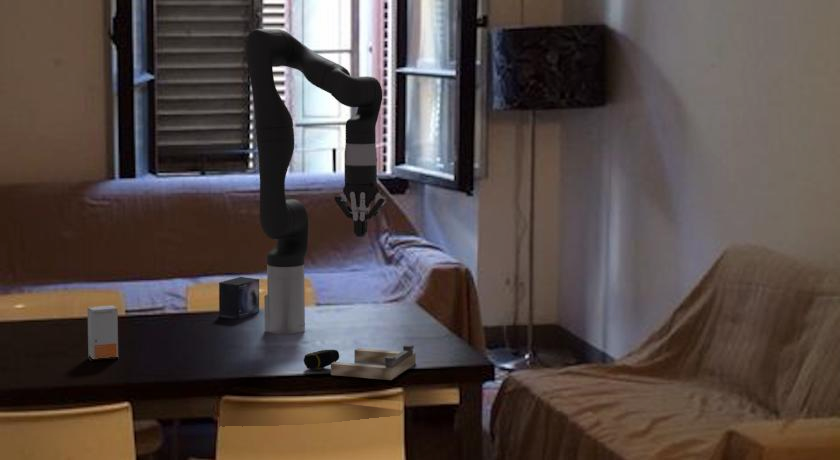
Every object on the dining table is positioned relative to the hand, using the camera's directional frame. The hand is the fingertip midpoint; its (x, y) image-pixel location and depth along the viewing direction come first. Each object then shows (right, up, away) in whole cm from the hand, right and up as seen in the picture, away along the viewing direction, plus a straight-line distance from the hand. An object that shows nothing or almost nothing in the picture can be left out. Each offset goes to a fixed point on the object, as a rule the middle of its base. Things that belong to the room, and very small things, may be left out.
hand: (360, 236), depth 304 cm
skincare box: (-59, -28, -7) cm, 65 cm away
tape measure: (-5, -29, -15) cm, 33 cm away
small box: (-34, -22, +38) cm, 55 cm away
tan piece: (+3, -29, -16) cm, 34 cm away
